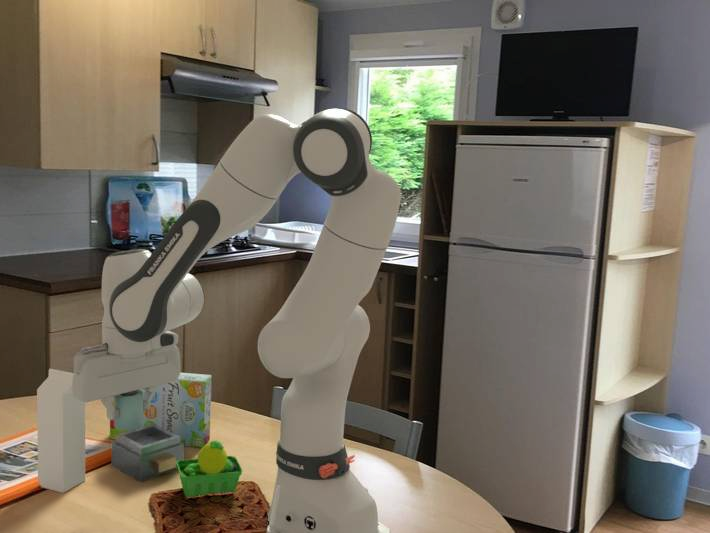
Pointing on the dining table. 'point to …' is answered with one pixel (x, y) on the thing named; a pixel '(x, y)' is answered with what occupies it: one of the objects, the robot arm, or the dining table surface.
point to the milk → (60, 433)
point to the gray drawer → (146, 452)
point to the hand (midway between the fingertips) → (128, 414)
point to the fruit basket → (209, 471)
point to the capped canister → (129, 410)
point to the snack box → (180, 409)
